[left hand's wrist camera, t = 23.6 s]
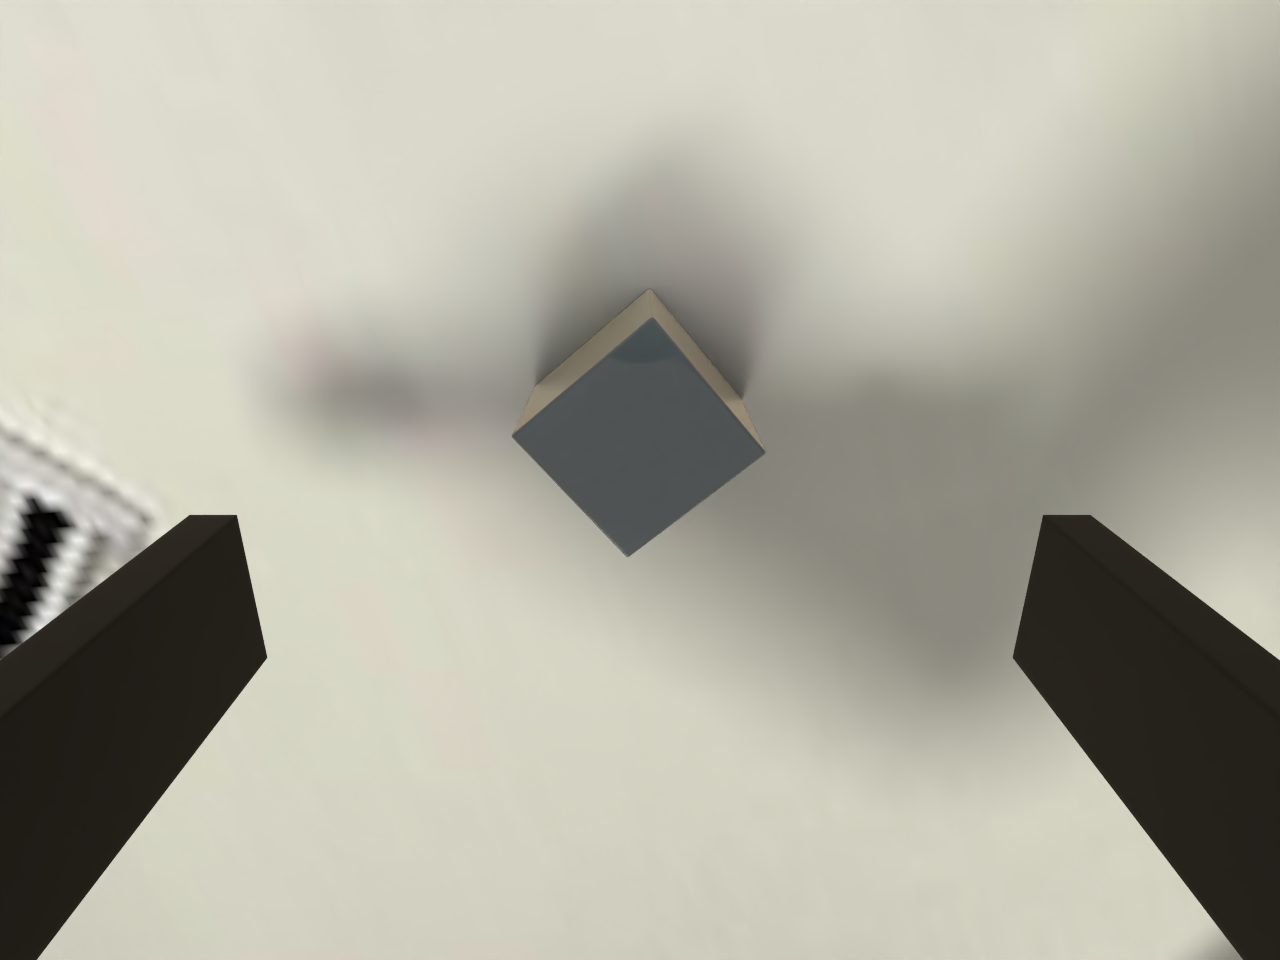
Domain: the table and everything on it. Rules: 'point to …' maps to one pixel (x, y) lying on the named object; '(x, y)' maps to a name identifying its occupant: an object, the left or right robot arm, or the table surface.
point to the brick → (638, 425)
